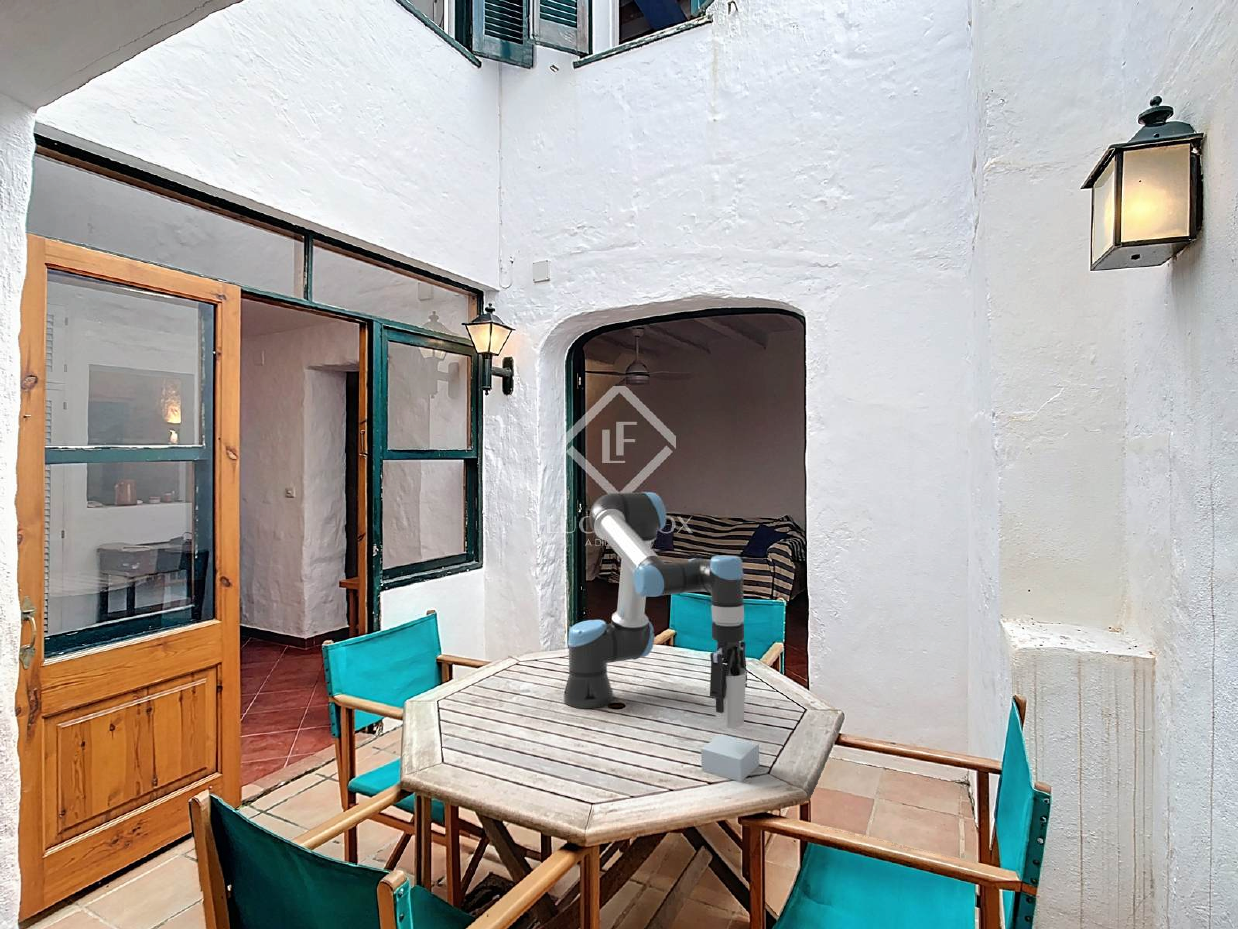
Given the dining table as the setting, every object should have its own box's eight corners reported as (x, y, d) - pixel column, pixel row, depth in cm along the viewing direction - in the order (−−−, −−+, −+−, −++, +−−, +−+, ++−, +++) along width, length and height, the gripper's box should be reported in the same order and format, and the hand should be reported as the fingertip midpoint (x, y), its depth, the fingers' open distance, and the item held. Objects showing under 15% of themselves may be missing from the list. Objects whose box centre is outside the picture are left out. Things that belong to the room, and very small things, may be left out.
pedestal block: (721, 754, 157) (720, 734, 157) (759, 765, 151) (758, 743, 151) (701, 770, 149) (701, 748, 149) (740, 782, 143) (740, 759, 143)
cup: (706, 719, 153) (705, 668, 153) (736, 714, 155) (734, 664, 156) (723, 731, 145) (722, 678, 145) (754, 726, 148) (752, 673, 148)
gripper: (732, 612, 161) (734, 703, 161) (692, 629, 145) (694, 731, 144) (760, 615, 156) (762, 709, 156) (722, 633, 140) (724, 738, 140)
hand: (729, 719), depth 150 cm, fingers closed on cup, 7 cm apart
